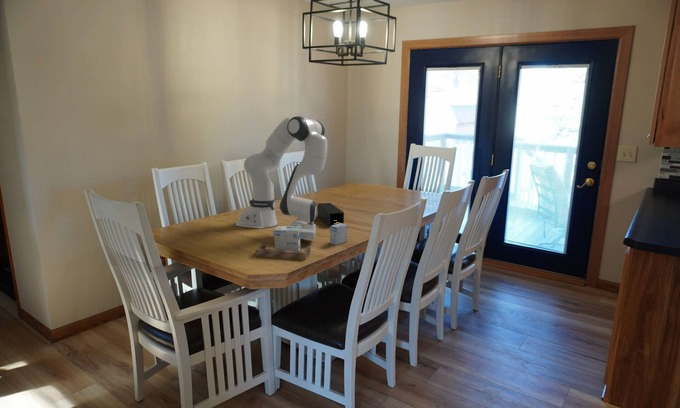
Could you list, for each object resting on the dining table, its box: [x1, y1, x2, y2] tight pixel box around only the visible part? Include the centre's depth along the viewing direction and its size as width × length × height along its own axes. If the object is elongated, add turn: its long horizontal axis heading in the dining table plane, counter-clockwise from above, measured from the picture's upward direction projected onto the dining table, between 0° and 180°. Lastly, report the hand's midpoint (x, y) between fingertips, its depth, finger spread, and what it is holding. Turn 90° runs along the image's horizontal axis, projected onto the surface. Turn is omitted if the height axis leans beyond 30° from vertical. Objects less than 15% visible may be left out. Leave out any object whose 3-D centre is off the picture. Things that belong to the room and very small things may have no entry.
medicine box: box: [329, 223, 348, 246], centre depth 208 cm, size 8×4×9 cm, turn 141°
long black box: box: [317, 202, 345, 227], centre depth 249 cm, size 8×8×28 cm
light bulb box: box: [274, 225, 301, 251], centre depth 195 cm, size 11×7×11 cm, turn 88°
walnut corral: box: [255, 243, 311, 261], centre depth 190 cm, size 22×8×3 cm, turn 79°
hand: (289, 237), depth 199 cm, fingers closed
